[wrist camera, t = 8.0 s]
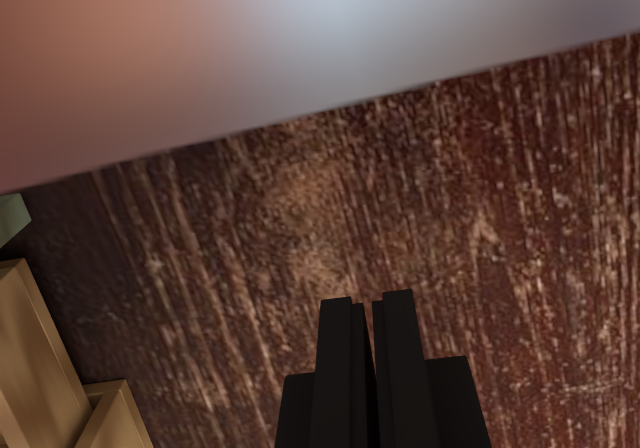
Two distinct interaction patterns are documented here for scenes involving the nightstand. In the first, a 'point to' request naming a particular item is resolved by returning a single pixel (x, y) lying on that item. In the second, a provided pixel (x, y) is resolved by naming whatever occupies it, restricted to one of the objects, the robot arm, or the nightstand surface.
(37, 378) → the drawer
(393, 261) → the nightstand surface
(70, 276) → the nightstand surface
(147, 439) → the cabinet
